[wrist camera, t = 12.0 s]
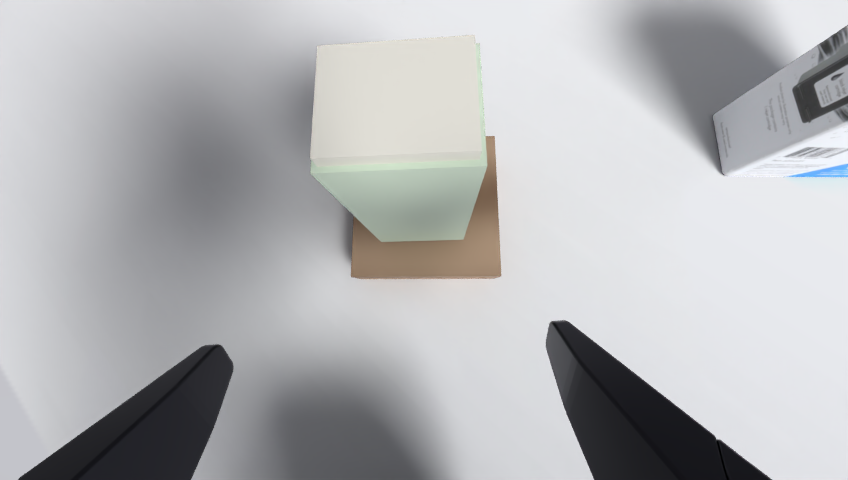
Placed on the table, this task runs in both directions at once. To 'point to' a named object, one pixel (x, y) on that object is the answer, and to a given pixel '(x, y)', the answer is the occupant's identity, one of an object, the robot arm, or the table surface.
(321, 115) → the tea tin
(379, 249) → the walnut block
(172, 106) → the table surface
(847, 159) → the ink box
